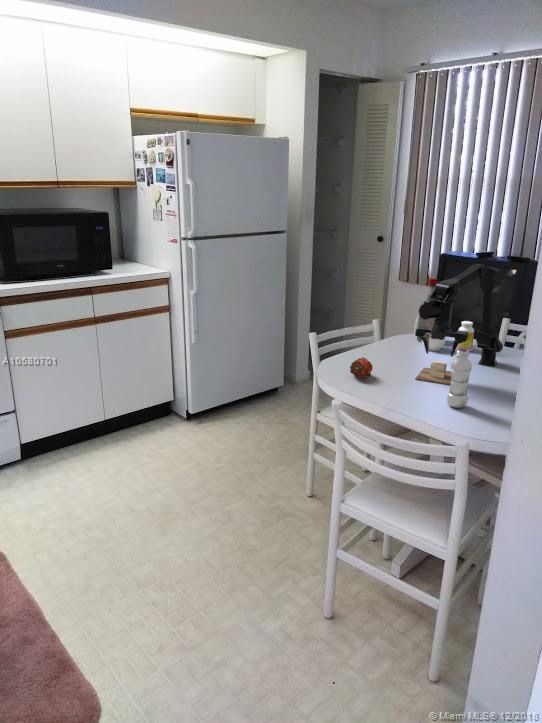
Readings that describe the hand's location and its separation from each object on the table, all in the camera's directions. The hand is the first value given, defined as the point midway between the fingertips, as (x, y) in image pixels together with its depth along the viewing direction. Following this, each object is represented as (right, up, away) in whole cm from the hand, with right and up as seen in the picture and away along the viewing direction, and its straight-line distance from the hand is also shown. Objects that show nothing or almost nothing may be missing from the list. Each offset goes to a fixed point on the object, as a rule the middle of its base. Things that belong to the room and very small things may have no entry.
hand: (439, 355), depth 205 cm
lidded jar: (+9, +3, +37) cm, 39 cm away
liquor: (+10, +7, +50) cm, 51 cm away
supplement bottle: (+23, +3, +36) cm, 42 cm away
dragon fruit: (-30, -9, +5) cm, 31 cm away
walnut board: (0, -9, +3) cm, 9 cm away
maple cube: (0, -8, +3) cm, 8 cm away
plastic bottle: (-2, -18, -24) cm, 30 cm away
